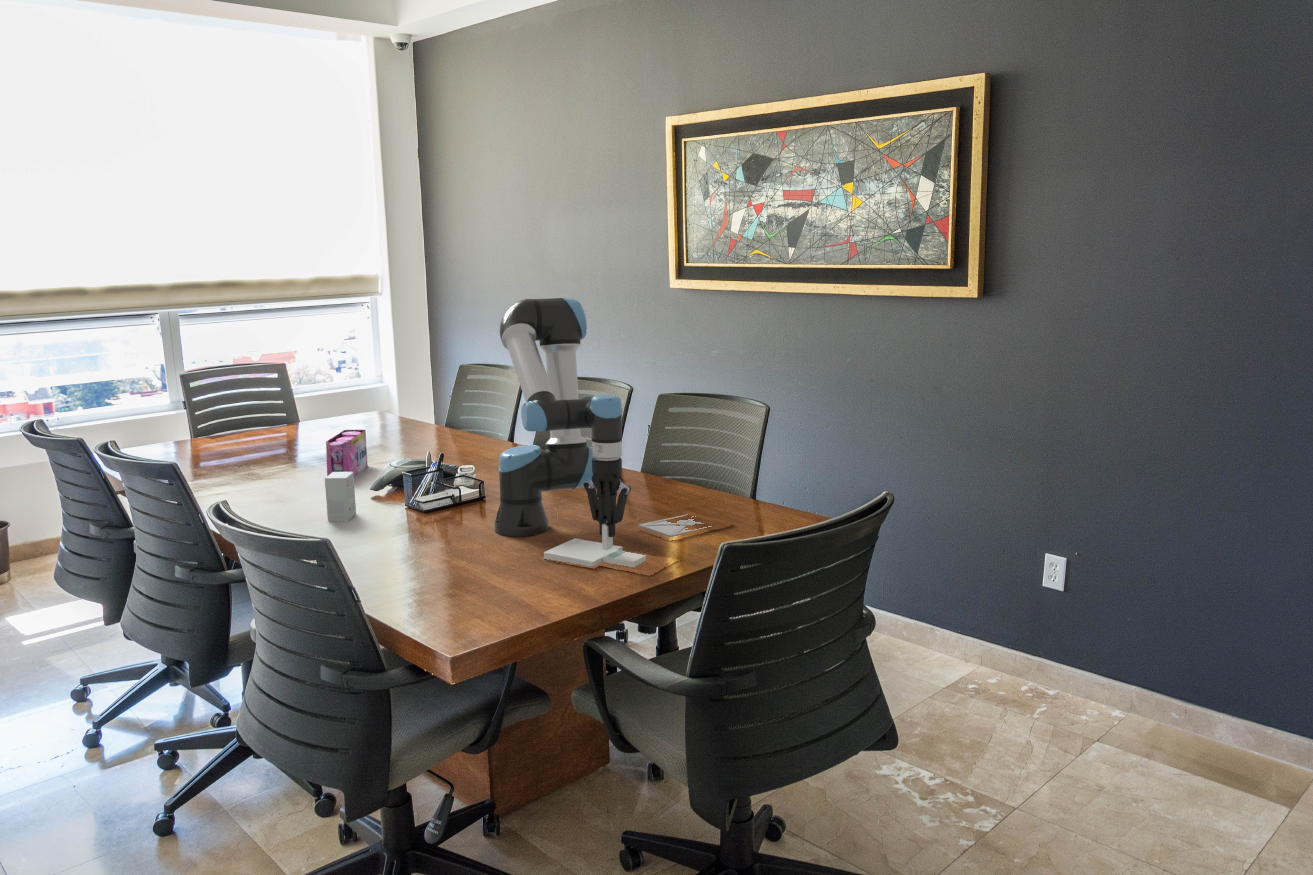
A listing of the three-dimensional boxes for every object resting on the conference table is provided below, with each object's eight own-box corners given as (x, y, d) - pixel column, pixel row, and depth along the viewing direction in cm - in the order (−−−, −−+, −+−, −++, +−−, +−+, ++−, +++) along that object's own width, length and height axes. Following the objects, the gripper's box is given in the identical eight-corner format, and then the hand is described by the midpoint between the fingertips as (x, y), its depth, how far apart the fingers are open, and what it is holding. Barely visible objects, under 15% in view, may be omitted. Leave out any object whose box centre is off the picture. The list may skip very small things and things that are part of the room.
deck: (574, 545, 259) (574, 538, 258) (622, 554, 252) (622, 546, 251) (543, 559, 247) (543, 552, 246) (593, 569, 240) (593, 561, 239)
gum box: (349, 481, 328) (346, 442, 325) (325, 481, 327) (323, 442, 325) (368, 466, 351) (366, 429, 348) (346, 466, 351) (344, 429, 348)
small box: (335, 513, 288) (332, 471, 286) (356, 513, 289) (354, 471, 286) (327, 521, 280) (324, 477, 278) (349, 521, 281) (346, 477, 278)
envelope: (733, 528, 278) (700, 517, 288) (733, 520, 277) (700, 510, 288) (670, 542, 262) (638, 531, 273) (670, 534, 262) (638, 523, 272)
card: (615, 557, 248) (615, 549, 248) (646, 562, 244) (646, 554, 243) (603, 563, 243) (603, 555, 242) (633, 569, 238) (633, 561, 238)
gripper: (576, 457, 240) (577, 548, 245) (621, 463, 234) (621, 556, 238) (593, 452, 247) (594, 540, 251) (636, 457, 240) (637, 548, 245)
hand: (607, 548), depth 245 cm, fingers closed
